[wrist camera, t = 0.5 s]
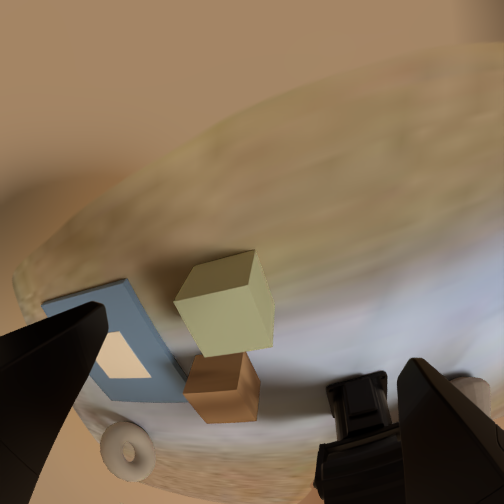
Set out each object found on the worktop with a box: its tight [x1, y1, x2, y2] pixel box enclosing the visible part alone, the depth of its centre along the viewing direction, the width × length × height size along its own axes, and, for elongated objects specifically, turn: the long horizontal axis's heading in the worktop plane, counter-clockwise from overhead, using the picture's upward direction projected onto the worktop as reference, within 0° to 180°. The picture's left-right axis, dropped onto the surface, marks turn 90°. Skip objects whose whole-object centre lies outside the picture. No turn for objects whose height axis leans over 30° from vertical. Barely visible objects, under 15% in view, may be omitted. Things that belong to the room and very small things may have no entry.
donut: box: [100, 422, 156, 482], centre depth 30 cm, size 10×4×10 cm, turn 29°
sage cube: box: [173, 250, 275, 357], centre depth 20 cm, size 5×5×5 cm
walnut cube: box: [182, 352, 261, 424], centre depth 24 cm, size 5×5×5 cm
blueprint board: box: [41, 279, 189, 403], centre depth 27 cm, size 16×14×1 cm
